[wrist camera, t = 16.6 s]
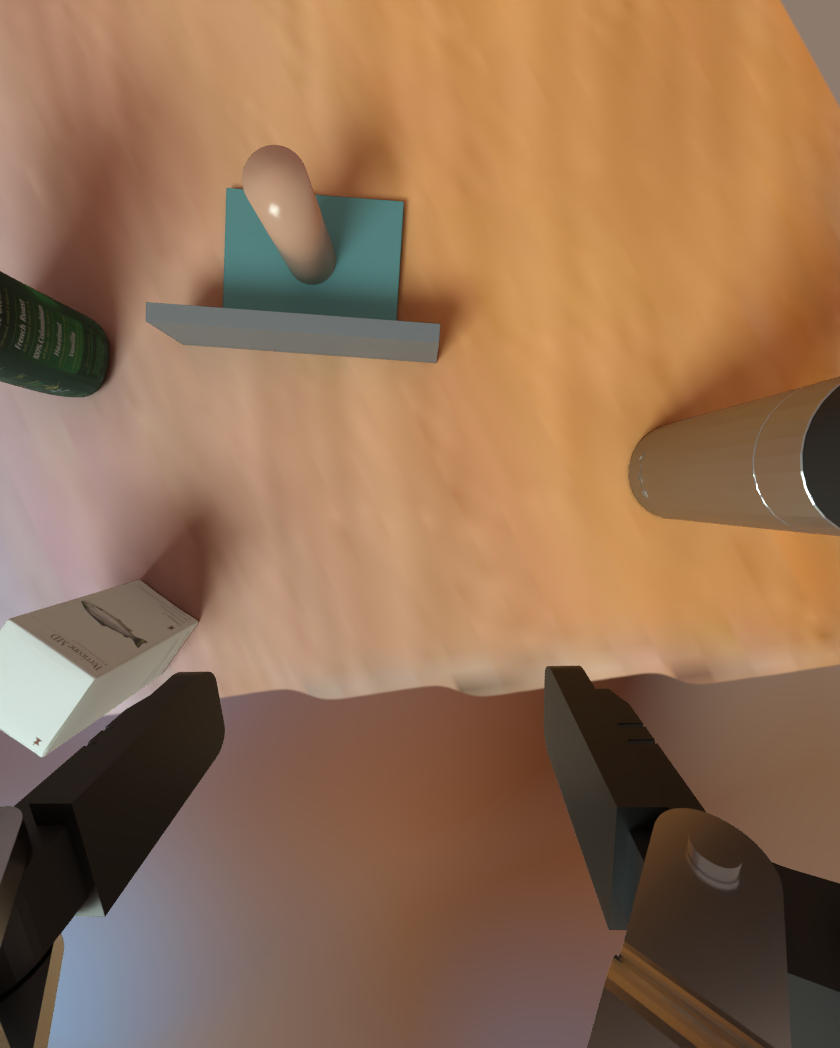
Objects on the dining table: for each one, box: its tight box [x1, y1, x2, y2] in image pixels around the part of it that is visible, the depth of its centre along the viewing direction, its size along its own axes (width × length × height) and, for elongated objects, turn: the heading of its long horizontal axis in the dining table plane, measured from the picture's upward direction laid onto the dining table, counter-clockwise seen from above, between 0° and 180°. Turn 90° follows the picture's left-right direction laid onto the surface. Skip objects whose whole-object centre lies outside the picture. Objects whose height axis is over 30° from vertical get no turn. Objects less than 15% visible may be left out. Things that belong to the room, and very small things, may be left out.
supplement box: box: [0, 580, 198, 757], centre depth 33 cm, size 7×7×13 cm
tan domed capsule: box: [242, 145, 336, 285], centre depth 31 cm, size 4×4×9 cm
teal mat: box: [223, 188, 404, 321], centre depth 36 cm, size 16×11×1 cm
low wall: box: [146, 302, 440, 363], centre depth 34 cm, size 24×2×5 cm, turn 86°
